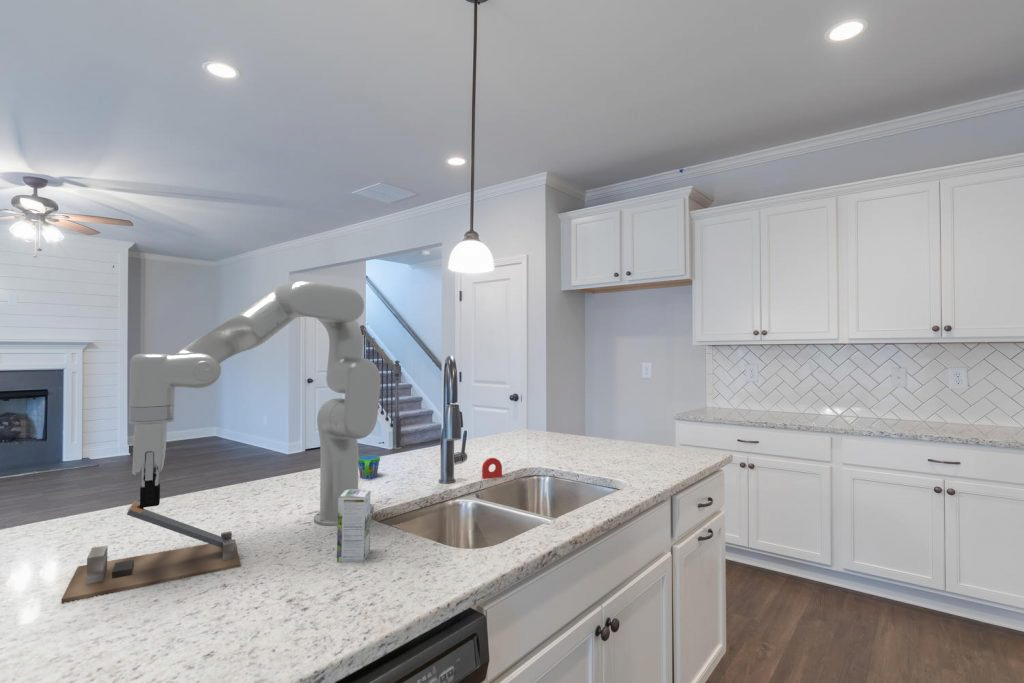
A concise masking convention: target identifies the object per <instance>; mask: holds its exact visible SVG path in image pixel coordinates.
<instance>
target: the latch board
mask: <svg viewBox="0 0 1024 683" xmlns="http://www.w3.org/2000/svg"><path fill="white" fill-rule="evenodd" d="M232 533H233V532H232V531H224V532H221V533H220V536H221V537H224V538H225V537H230V539H231V540H232V542H226V543H223V548H220V547H218V546H215V545H212V544H209V543H205V544H199V545H195V546H188V547H182V548H176V549H169V550H164V551H158V552H153V553H148V554H142V555H136V556H135V555H134V556H129V557H123V558H119V559H118V558H117V559H114V560H108V546H109V545H101V546H96V547H91V549H90V551H89V554H88V556H87V558H86V564H84V565H78V566H77V567H76V569H75V571H74V574H73V575H72V578H71V579H70V581H69V582H68V586H67V588H66V589H65V592H64V593H63V595H62V597H61V603H62V604H65V603H64V602H67V603H71V602H70V601H72V602H76V601H75V600H77V601H80V599H82V600H86V599H91V598H95V597H94V596H96V597H99V596H98V595H101V596H105V595H104V594H106V595H110V594H109V593H111V594H115V593H118V592H119V593H121V592H124V591H129V590H134V589H139V588H144V587H149V586H154V585H157V584H164V583H169V582H173V581H177V580H182V579H188V578H192V577H196V576H201V575H205V574H207V575H208V574H211V573H216V572H221V571H225V570H230V569H235V568H240V567H242V563H241V558H240V555H239V550H238V546H237V545H238V544H237V540H236V539H234V538H233V537H232V535H233V534H232ZM114 592H115V593H114ZM90 597H91V598H90ZM85 598H86V599H85ZM61 603H60V604H61Z"/></svg>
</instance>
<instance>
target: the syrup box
mask: <svg viewBox="0 0 1024 683" xmlns="http://www.w3.org/2000/svg"><path fill="white" fill-rule="evenodd" d="M371 491H372V490H370V489H363V488H362V489H361V488H358V489H350V490H345V491H344V492H343V493H342V495H341V496H340V497H339V498H338V526H337V530H336V531H337V532H336V533H337V534H336V535H337V539H336V540H337V541H336V542H337V543H336V563H345V562H347V563H348V562H364V561H365V560H366V558H367V556H368V554H369V552H370V540H371V539H370V537H371V536H370V534H371V533H370V532H371V514H370V504H371V495H372V494H371V493H372V492H371Z"/></svg>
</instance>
